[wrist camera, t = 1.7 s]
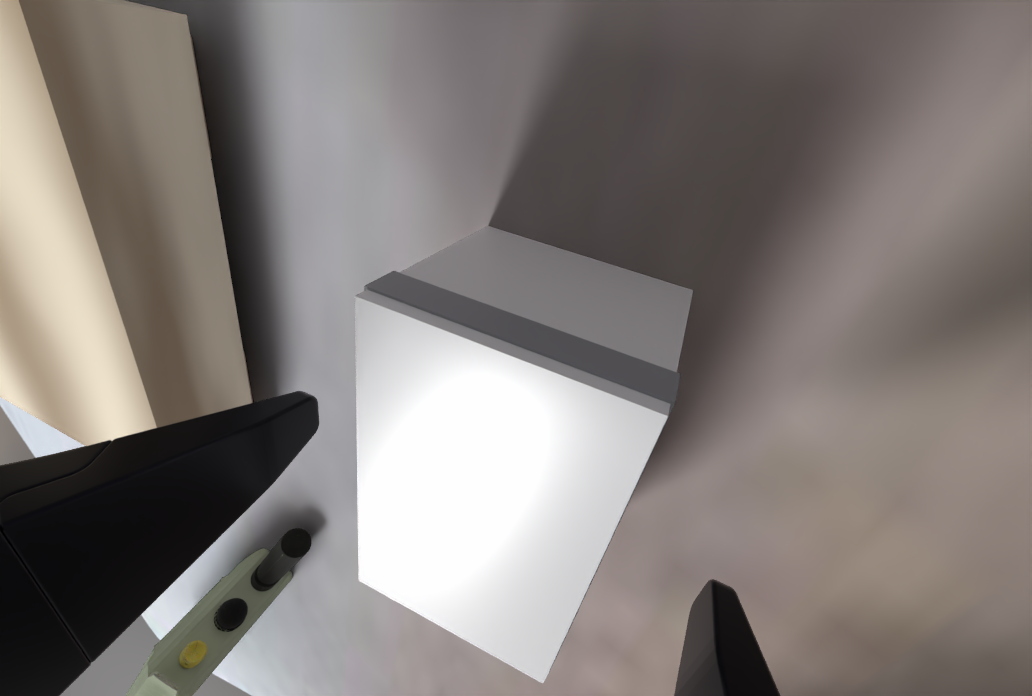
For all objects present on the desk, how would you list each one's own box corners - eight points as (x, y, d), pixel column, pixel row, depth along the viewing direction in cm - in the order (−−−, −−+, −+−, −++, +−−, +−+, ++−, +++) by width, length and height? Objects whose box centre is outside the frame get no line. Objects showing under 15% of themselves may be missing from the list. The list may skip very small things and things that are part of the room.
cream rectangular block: (217, 19, 12) (14, -12, 8) (275, 431, 19) (180, 500, 16) (-54, -43, 14) (-290, -86, 11) (90, 340, 22) (-24, 383, 18)
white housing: (696, 287, 10) (673, 414, 6) (597, 520, 14) (544, 686, 10) (488, 222, 11) (351, 292, 7) (454, 455, 16) (357, 580, 12)
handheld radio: (196, 619, 36) (289, 494, 21) (229, 645, 36) (343, 540, 22) (104, 714, 31) (144, 635, 16) (144, 745, 31) (219, 694, 16)
